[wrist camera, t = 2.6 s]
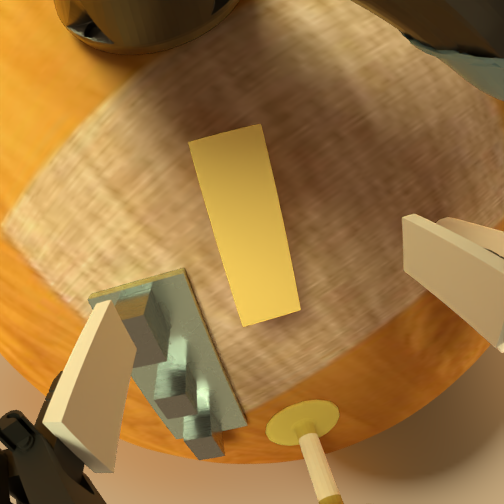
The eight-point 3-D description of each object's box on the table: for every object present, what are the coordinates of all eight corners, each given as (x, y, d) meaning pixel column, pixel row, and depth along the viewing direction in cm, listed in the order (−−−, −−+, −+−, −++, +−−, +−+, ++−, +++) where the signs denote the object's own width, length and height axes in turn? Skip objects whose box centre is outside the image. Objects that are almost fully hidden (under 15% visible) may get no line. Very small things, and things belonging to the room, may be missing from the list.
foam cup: (425, 300, 31) (498, 369, 19) (397, 243, 27) (492, 312, 15) (477, 247, 29) (556, 296, 17) (457, 184, 26) (557, 224, 14)
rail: (90, 293, 24) (72, 325, 20) (184, 267, 25) (180, 298, 20) (176, 432, 33) (176, 465, 28) (246, 419, 33) (252, 452, 29)
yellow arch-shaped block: (192, 140, 21) (187, 142, 15) (245, 126, 22) (261, 123, 16) (233, 282, 26) (242, 327, 20) (279, 269, 26) (300, 310, 20)
